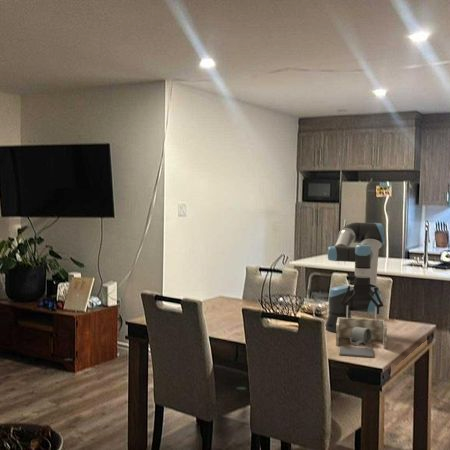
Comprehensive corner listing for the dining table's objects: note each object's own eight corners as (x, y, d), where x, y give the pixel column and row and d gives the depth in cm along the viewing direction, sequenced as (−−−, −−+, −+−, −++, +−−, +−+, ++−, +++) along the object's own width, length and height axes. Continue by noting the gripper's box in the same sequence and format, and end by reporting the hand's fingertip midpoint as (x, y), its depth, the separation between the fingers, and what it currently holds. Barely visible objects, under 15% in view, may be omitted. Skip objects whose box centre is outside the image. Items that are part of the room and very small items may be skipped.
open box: (335, 345, 273) (336, 324, 272) (337, 336, 290) (337, 317, 289) (386, 349, 268) (386, 328, 267) (384, 339, 284) (385, 320, 284)
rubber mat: (339, 355, 256) (339, 353, 256) (340, 347, 269) (340, 346, 269) (373, 357, 253) (373, 356, 253) (372, 350, 266) (372, 348, 266)
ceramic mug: (357, 339, 285) (357, 324, 284) (371, 342, 279) (372, 327, 278) (345, 343, 277) (346, 328, 276) (360, 347, 271) (360, 331, 271)
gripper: (336, 276, 276) (335, 319, 277) (389, 278, 270) (388, 323, 271) (336, 274, 283) (335, 316, 284) (388, 276, 277) (387, 319, 278)
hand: (361, 319), depth 278 cm, fingers open, 13 cm apart
